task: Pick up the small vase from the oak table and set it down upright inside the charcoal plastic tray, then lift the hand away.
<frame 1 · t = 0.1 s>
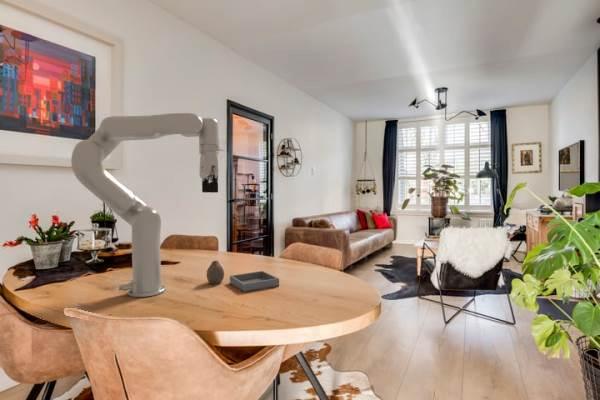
hand: (209, 192, 135), 37 cm above the table, tool pointing down, fingers open, 9 cm apart
tray: (254, 284, 132), on the table
vase: (215, 283, 135), on the table
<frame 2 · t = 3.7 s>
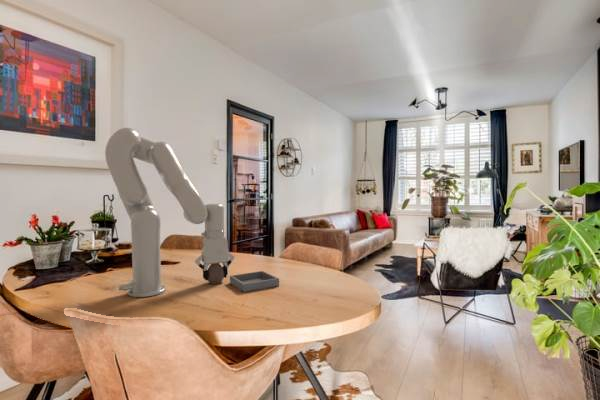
hand: (215, 278, 135), 2 cm above the table, tool pointing down, fingers closed on vase, 6 cm apart
vase: (215, 283, 135), on the table, touching gripper
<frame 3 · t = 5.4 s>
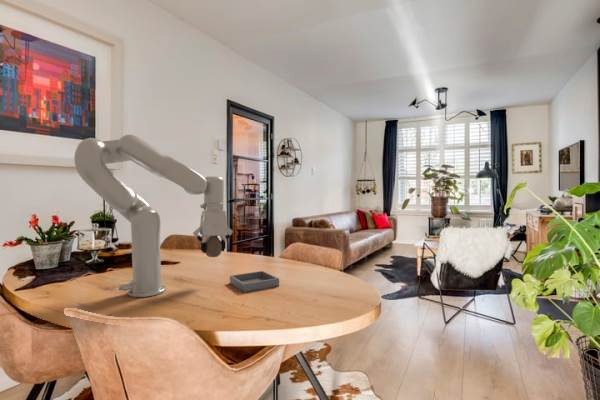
hand: (213, 251, 134), 13 cm above the table, tool pointing down, fingers closed on vase, 6 cm apart
vase: (213, 256, 134), point 11 cm above the table, touching gripper
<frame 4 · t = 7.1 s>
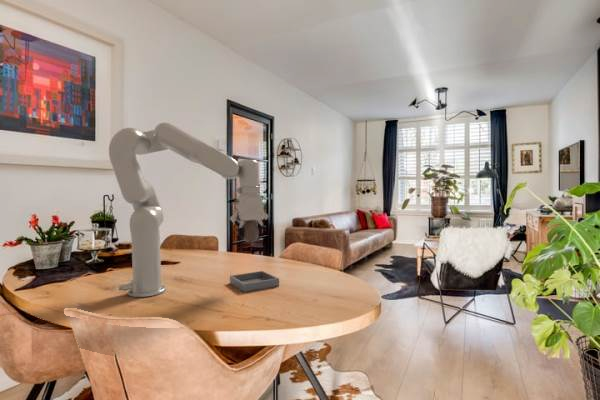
hand: (250, 236, 131), 19 cm above the table, tool pointing down, fingers closed on vase, 6 cm apart
vase: (250, 241, 131), point 17 cm above the table, touching gripper
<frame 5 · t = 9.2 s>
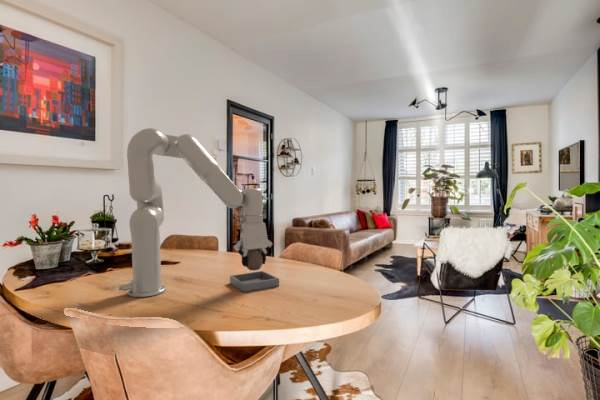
hand: (254, 264, 131), 8 cm above the table, tool pointing down, fingers closed on vase, 6 cm apart
vase: (254, 269, 131), point 6 cm above the table, touching gripper
when the fingers open (5 cm above the table, at t = 10.9 s): vase drops 2 cm, resting on tray.
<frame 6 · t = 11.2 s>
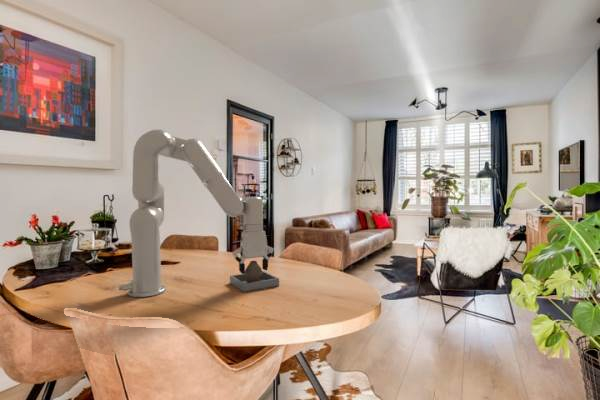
hand: (253, 271, 131), 5 cm above the table, tool pointing down, fingers open, 9 cm apart
vase: (253, 283, 132), resting on tray
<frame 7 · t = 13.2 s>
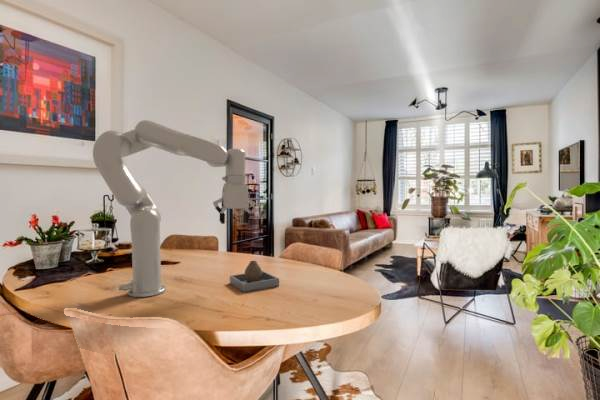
hand: (234, 223, 133), 24 cm above the table, tool pointing down, fingers open, 9 cm apart
nothing on the table moved.
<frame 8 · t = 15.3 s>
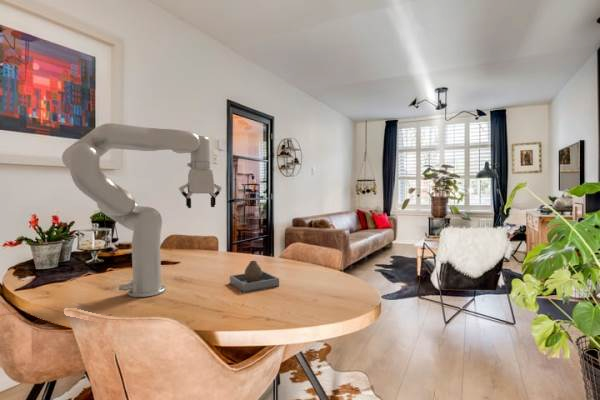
hand: (201, 207, 139), 30 cm above the table, tool pointing down, fingers open, 9 cm apart
nothing on the table moved.
at the end: vase 0.2 cm off-centre on the tray, point 0.3 cm above the tray's base; vase tilted 0°; the gripper is holding nothing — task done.
